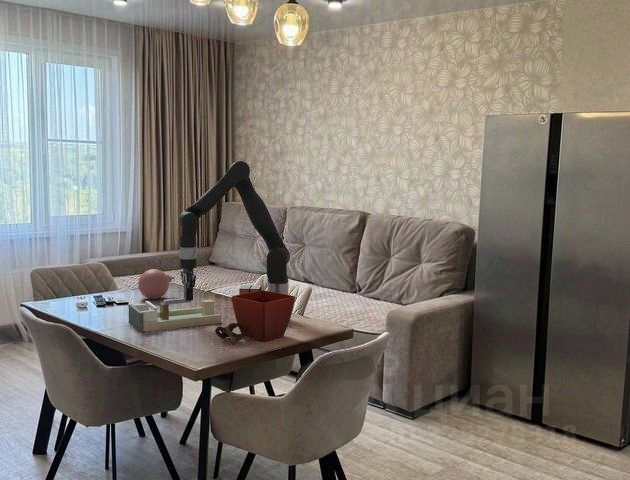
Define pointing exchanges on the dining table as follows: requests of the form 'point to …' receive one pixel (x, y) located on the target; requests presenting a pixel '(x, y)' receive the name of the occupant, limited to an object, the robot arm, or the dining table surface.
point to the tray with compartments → (171, 316)
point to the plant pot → (263, 313)
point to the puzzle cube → (249, 288)
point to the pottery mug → (230, 332)
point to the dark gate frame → (165, 305)
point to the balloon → (154, 283)
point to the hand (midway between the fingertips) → (188, 295)
